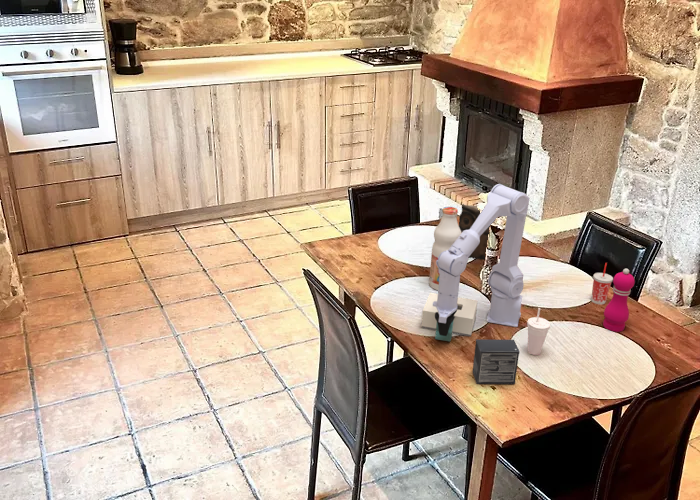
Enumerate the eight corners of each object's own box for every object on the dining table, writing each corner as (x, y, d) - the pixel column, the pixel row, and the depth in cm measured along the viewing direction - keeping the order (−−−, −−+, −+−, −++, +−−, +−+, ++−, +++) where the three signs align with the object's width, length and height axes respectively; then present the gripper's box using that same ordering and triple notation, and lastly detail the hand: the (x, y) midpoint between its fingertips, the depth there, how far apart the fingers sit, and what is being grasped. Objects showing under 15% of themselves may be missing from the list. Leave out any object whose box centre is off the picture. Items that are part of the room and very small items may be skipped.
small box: (509, 370, 186) (514, 338, 182) (515, 385, 180) (521, 351, 176) (471, 370, 186) (475, 337, 181) (476, 384, 180) (480, 351, 175)
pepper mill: (610, 333, 206) (623, 275, 198) (596, 322, 212) (608, 264, 204) (630, 331, 208) (644, 273, 199) (616, 319, 214) (629, 262, 206)
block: (451, 337, 199) (453, 319, 197) (450, 341, 197) (452, 323, 195) (436, 334, 201) (438, 317, 198) (435, 338, 198) (436, 321, 196)
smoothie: (528, 343, 200) (535, 301, 194) (549, 351, 196) (556, 308, 190) (518, 351, 195) (525, 309, 189) (539, 360, 191) (547, 317, 186)
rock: (497, 259, 252) (504, 209, 244) (468, 263, 248) (474, 213, 239) (479, 245, 263) (485, 197, 255) (451, 250, 258) (456, 201, 250)
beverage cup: (587, 302, 224) (594, 264, 218) (590, 294, 229) (598, 257, 223) (606, 307, 221) (614, 268, 215) (609, 299, 226) (617, 261, 220)
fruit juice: (444, 277, 237) (452, 202, 226) (462, 288, 230) (470, 211, 218) (423, 282, 233) (429, 206, 221) (440, 294, 225) (448, 216, 214)
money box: (475, 317, 212) (477, 300, 210) (470, 336, 202) (472, 319, 199) (428, 309, 216) (430, 292, 213) (421, 327, 205) (422, 310, 203)
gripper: (438, 278, 200) (434, 318, 205) (429, 300, 187) (425, 342, 193) (462, 282, 198) (458, 322, 204) (455, 304, 185) (450, 347, 191)
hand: (444, 332), depth 198 cm, fingers closed on block, 2 cm apart
